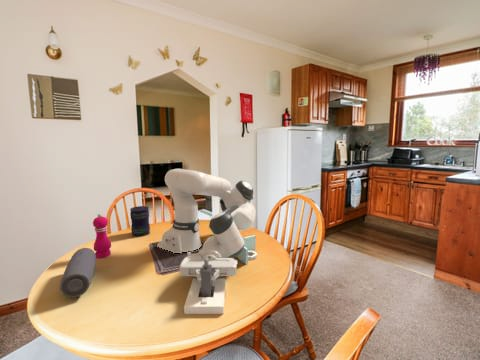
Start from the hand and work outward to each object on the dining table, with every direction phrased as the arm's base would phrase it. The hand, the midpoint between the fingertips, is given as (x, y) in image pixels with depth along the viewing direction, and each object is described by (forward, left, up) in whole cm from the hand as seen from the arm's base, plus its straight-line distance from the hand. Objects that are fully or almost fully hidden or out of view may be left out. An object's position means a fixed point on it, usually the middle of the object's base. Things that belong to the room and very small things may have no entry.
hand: (206, 279), depth 84 cm
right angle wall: (+1, +37, -8) cm, 38 cm away
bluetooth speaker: (-48, -11, -8) cm, 50 cm away
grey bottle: (0, +1, -6) cm, 7 cm away
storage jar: (-66, +37, -8) cm, 76 cm away
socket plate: (0, +1, -7) cm, 8 cm away
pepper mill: (-61, +9, -8) cm, 62 cm away
